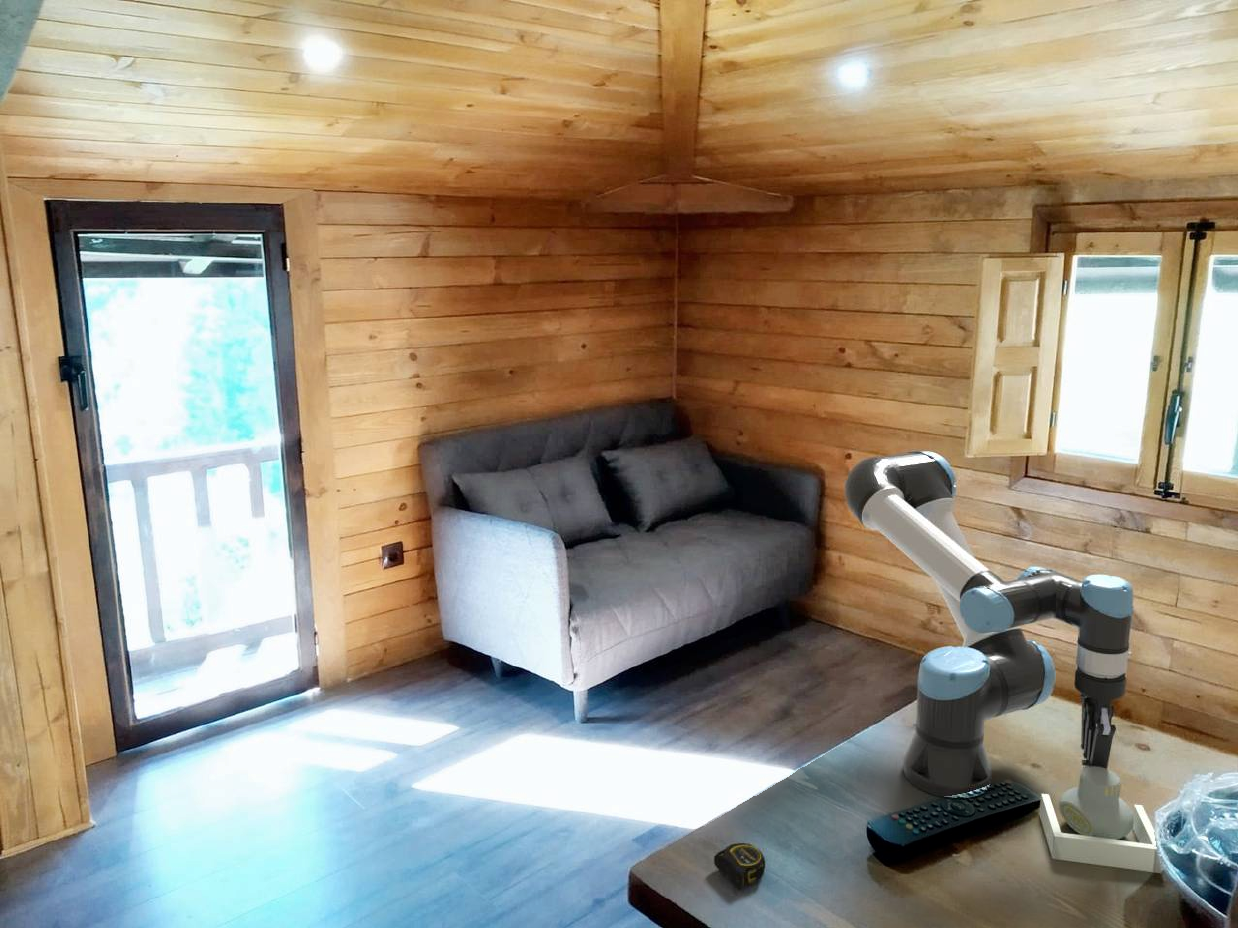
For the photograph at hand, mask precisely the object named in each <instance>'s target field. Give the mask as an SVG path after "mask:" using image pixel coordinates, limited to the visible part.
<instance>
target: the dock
mask: <svg viewBox="0 0 1238 928" xmlns="http://www.w3.org/2000/svg"><path fill="white" fill-rule="evenodd" d="M1132 810H1133V812H1132V814H1133V819H1134V823H1133V827H1132V829H1133V832H1134V834H1135V837H1136V838H1137V841H1138V842H1137V841H1129V840H1120V839H1118V840H1114V839H1106V838H1098V837H1091V836H1083V835H1081V834H1075V833H1065V832H1062V831H1061V827H1060V824H1059V822H1058V818H1057V815H1056V811H1055V809H1054V806H1053V803H1052V800H1051V796H1050V794H1048V793H1041V794H1040V803H1039V818H1040V822H1041V824H1042V828H1043V832H1044V835H1045V839H1046V842H1047V844H1048V848H1049V851H1050V855H1051V859H1052V860H1057V861H1058V860H1059V861H1065V862H1067V861H1068V862H1074V863H1082V864H1088V865H1097V866H1104V867H1111V868H1118V869H1127V870H1132V871H1133V870H1135V871H1140V872H1149V873H1156V874H1162V869H1163V866H1162V867H1161V863H1160V859H1159V856H1158V852H1157V847H1156V841H1155V835H1154V832H1155V833H1156V830H1155V829H1154V827H1153V824H1152V823H1151V820H1150V819H1149V817H1148V814H1147V812H1146V811H1145V808H1144V806H1143V805H1141V804H1133V809H1132Z"/></svg>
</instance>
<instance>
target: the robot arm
mask: <svg viewBox="0 0 1238 928" xmlns="http://www.w3.org/2000/svg"><path fill="white" fill-rule="evenodd" d="M956 479H957V477H956V475H955V472H954V470H953V468H952V466H951V465H950V463H949V462H948V461H947V459H945V458H944V457H943V456H941V455H940V454H938V453H936V452H933V451H928V450H927V451H925V450H923V451H919V450H913V451H908V452H906V453H905V452H904V453H897V454H891V455H882V456H881V455H880V456H871V457H867V458H865V459H863V460H861V461H859V462H858V463H857V464H856V465H855V466H853V468H852V469H851V470H850V471H849V473H848V475H847V477H846V480H845V484H844V497H845V501H846V504H847V506H848V509H849V510H850V512H851V513H852V515H853V516H854V517H855V518H856V519H857V520H858V521H859V523H861V524H862V525H863V526H864V527H866V528H867V529H868V530H871V531H872V530H873V531H878V532H879V533H881V534H882V535H883V536H884V537H885V538H886V539H888V540H889V542H890V543H892V544H893V545H894V546H896V547H897V548H898V550H900V551H901V552H902V553H904V555H906V556H907V557H908V559H910V560H911V561H913V562H914V564H915V565H916V566H918V567H919V568H921V570H922V571H924V572H925V573H926V574H927V575H928V576H930V577H931V578H932V579H933V580H934V581H935V582H936V585H937V586H938V588H939V591H940V593H941V595H942V597H943V599H944V600H945V602H946V605H947V607H948V608H949V612H950V613H951V615H952V617H953V619H954V621H955V624H956V625H957V627H958V630H959V632H960V634H961V636H962V637H963V643H962V645H958V646H956V647H954V646H952V645H947V646H942V647H938V648H935V649H933V650H930V651H929V652H927V653H926V654H925V655H924V656H923V657H922V659H921V661H920V664H919V669H918V670H919V672H918V674H917V681H916V682H917V690H916V691H917V693H916V695H917V698H916V718H915V732H914V734H913V737H912V739H911V741H910V744H909V745H908V748H907V750H906V752H905V755H904V759H903V774H904V776H905V778H906V780H907V781H909V783H911V784H912V785H913V786H915V787H916V788H918V789H920V790H921V791H924V792H925V793H928V794H931V795H934V796H937V797H941V796H952V795H957V794H962V793H967V792H970V791H973V790H976V789H979V788H982V787H985V786H987V785H989V784H991V785H992V775H993V774H992V768H991V763H990V761H989V757H988V753H987V750H986V746H985V744H984V739H985V738H984V737H985V726H986V725H985V724H986V721H987V720H990V719H992V718H998V717H1001V716H1003V715H1006V714H1007V715H1008V714H1011V713H1014V712H1017V711H1025V710H1029V709H1031V708H1033V707H1036V706H1038V705H1040V704H1042V703H1045V702H1046V701H1047V700H1048V699H1049V698H1050V696H1051V695H1052V694H1053V691H1054V689H1055V687H1054V685H1055V683H1056V675H1057V674H1056V669H1055V664H1054V661H1053V658H1052V656H1051V655H1050V653H1049V651H1048V650H1047V649H1046V647H1044V646H1043V645H1041V644H1039V643H1038V642H1037V641H1034V640H1028V639H1027V638H1026V636H1025V635H1024V632H1023V631H1022V629H1021V626H1025V625H1029V624H1035V623H1038V622H1042V621H1047V620H1051V619H1053V620H1054V619H1055V620H1058V621H1060V622H1062V623H1066V624H1068V625H1070V626H1073V627H1077V628H1078V629H1077V630H1078V631H1077V640H1076V642H1077V643H1076V651H1075V652H1076V653H1075V654H1076V656H1075V665H1076V667H1075V670H1074V688H1075V690H1076V691H1078V693H1080V697H1081V700H1080V701H1081V736H1080V737H1081V738H1080V739H1081V744H1080V748H1081V750H1083V752H1082V753H1083V754H1082V756H1083V759H1081V763H1082V767H1083V769H1085V768H1087V767H1091V766H1097V767H1102V768H1106V769H1108V767H1109V760H1110V754H1111V750H1112V745H1113V739H1114V735H1115V734H1116V730H1117V727H1116V724H1112V718H1113V717H1114V715H1115V708H1114V705H1112V702H1113V701H1115V700H1120V699H1121V698H1123V697H1124V696H1125V694H1126V688H1127V687H1126V685H1127V679H1128V678H1127V674H1126V672H1127V671H1128V670H1127V669H1128V663H1129V661H1128V658H1132V655H1133V653H1132V652H1131V651H1129V648H1130V637H1131V636H1130V634H1131V627H1132V619H1133V614H1134V610H1135V609H1134V588H1133V586H1132V584H1131V583H1130V582H1129V581H1128V580H1126V579H1124V578H1122V577H1119V576H1114V575H1112V576H1111V575H1108V574H1099V573H1098V574H1092V575H1087V576H1086V577H1084V578H1083V580H1082V581H1081V580H1079V579H1076V578H1073V577H1071V576H1068V575H1065V574H1063V573H1060V572H1058V571H1057V570H1053V569H1051V568H1044V567H1040V566H1031V567H1028V568H1026V569H1025V571H1024V572H1021V573H1020V574H1019V576H1018V578H1017V579H1014V580H1010V581H1005V580H1003V579H1002V578H1001V577H999V575H997V574H995V573H994V572H993V571H991V570H990V569H989V568H988V567H987V566H986V565H984V564H983V563H982V562H981V561H979V560H978V559H977V558H976V557H975V555H974V553H973V551H972V550H971V547H970V545H969V544H968V542H967V540H966V538H965V536H964V533H963V532H962V530H961V528H960V526H959V524H958V523H957V520H956V518H955V517H954V515H953V509H954V507H955V505H956V500H954V496H955V494H956V492H957V491H956V490H957V486H956V485H955V483H956V482H957V480H956ZM1083 769H1082V770H1083Z"/></svg>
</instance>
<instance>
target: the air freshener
mask: <svg viewBox="0 0 1238 928" xmlns="http://www.w3.org/2000/svg"><path fill="white" fill-rule="evenodd" d="M1121 786H1122V781H1121V778H1120V777H1119V776H1118V774H1116V773H1115V772H1114V771H1112V770H1110V769H1108V768H1107V769H1106V768H1102V767H1097V766H1091V767H1087V768H1085V769H1082V770H1081V771H1080V776H1079V783H1078V786H1075V787H1072V788H1070V789H1068V790H1066V791H1065V792H1064V793H1063V794H1062V796H1061V797H1060V799H1059V803H1058V808H1059V812H1060V815H1061V816H1062V819H1063V820H1064V821H1065V822H1066V823H1067V825H1069V827H1070V828H1071V829H1073V830H1074V831H1075V832H1076V833H1078V835H1083V836H1091V837H1098V838H1106V839H1114V840H1120V839H1122V838H1125V837H1126V836H1128V834H1130V833H1131V831H1132V829H1133V828H1132V827H1133V823H1134V819H1133V812H1132V810H1131V809H1130V807H1129V805H1128V804H1127V803H1126V802H1125V801H1124V800H1123V799H1122V798H1121V797H1120V794H1121V788H1122V787H1121Z"/></svg>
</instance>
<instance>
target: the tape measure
mask: <svg viewBox="0 0 1238 928" xmlns="http://www.w3.org/2000/svg"><path fill="white" fill-rule="evenodd" d="M713 863H714V866H715V868H717V870H719V871H720V872H721V873H722V874H724V876H726V878H728V879H729V881H731V882H732V883H733V885H734V886H735V887H737V888H738V889H740V890H742V889H744V888H746V887H747V885H753V884H756V883H757V882H759V881H760V880H761V879H762V877H763V876H764V874H765V869H766V859H765V856H764V855H763V853H762V851H761V850H760V849H759V848H757V847H756V846H754V845H752V844H750V843H745V842H742V843H741V842H738V843H732V844H730V845H728V846H727V847H726V848H724V849H723V850H719V851H718V852H716V854H715V855H714V857H713Z"/></svg>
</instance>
